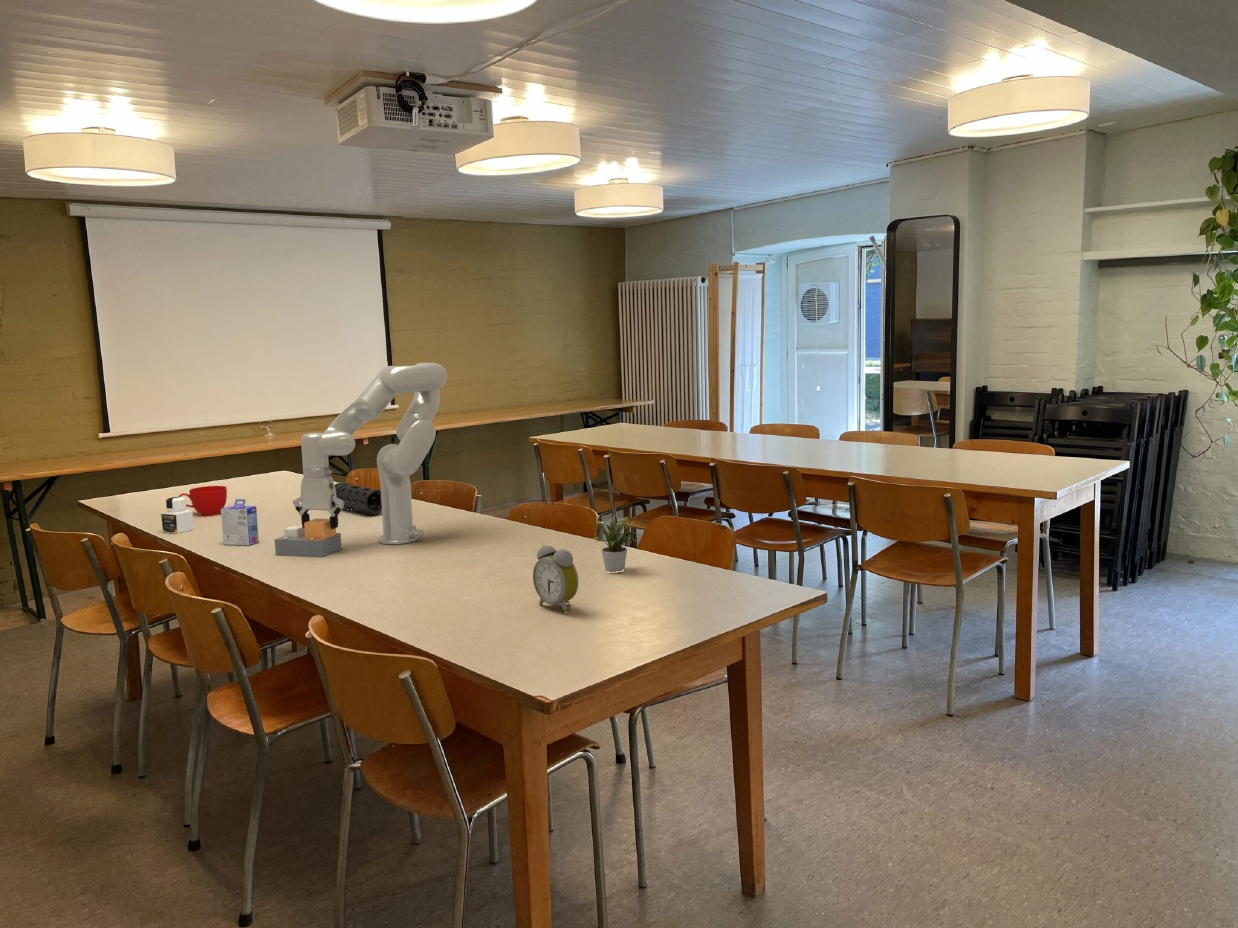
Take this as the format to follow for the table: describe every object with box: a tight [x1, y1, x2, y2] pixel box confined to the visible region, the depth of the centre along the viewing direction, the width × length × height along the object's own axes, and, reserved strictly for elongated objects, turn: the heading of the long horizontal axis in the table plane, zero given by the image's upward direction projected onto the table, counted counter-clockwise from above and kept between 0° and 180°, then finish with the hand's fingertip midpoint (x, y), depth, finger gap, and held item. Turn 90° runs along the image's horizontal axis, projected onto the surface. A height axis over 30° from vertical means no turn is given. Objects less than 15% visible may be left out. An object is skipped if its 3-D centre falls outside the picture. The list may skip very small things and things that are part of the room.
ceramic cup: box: [178, 485, 228, 517], centre depth 331 cm, size 13×17×10 cm
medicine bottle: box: [160, 496, 195, 535], centre depth 302 cm, size 7×7×12 cm
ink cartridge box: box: [220, 498, 260, 546], centre depth 281 cm, size 10×6×14 cm, turn 78°
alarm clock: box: [532, 544, 579, 613], centre depth 208 cm, size 12×7×15 cm, turn 45°
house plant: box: [587, 513, 637, 572], centre depth 239 cm, size 14×14×16 cm
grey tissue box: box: [274, 532, 342, 558], centre depth 269 cm, size 16×11×6 cm
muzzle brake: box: [334, 481, 382, 517], centre depth 331 cm, size 10×28×10 cm, turn 47°
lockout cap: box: [304, 517, 337, 539], centre depth 268 cm, size 7×7×5 cm
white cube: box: [283, 525, 305, 538], centre depth 270 cm, size 4×4×4 cm
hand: (320, 527), depth 267 cm, fingers open, 9 cm apart
